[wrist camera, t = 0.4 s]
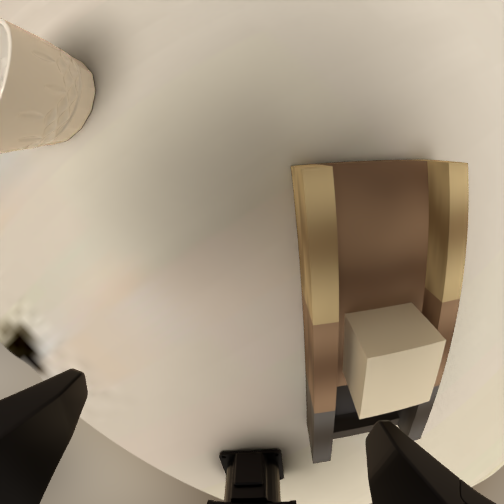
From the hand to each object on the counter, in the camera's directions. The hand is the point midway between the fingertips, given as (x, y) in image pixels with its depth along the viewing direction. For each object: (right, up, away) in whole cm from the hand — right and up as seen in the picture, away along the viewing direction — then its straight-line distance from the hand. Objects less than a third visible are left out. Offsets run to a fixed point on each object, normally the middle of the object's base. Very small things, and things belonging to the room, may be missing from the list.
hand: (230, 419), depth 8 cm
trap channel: (+9, 0, +14) cm, 17 cm away
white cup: (-14, +16, +10) cm, 23 cm away
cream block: (+9, -1, +12) cm, 15 cm away
